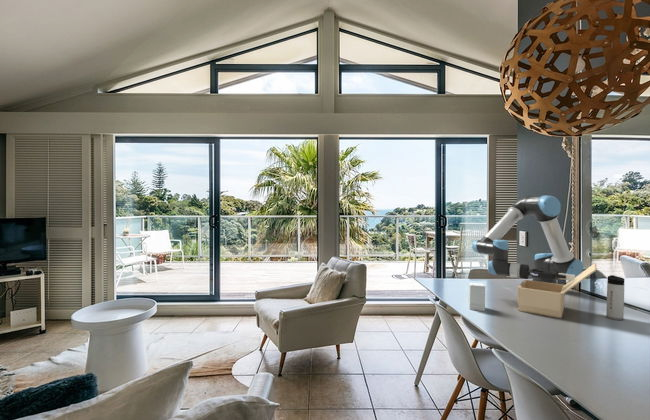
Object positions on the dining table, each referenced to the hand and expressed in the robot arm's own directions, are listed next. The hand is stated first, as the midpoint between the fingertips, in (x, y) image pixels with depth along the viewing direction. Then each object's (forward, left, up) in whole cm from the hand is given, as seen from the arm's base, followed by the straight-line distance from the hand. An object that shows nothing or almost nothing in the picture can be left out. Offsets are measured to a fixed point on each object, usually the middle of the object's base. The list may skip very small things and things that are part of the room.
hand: (574, 277), depth 167 cm
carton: (+6, -12, -18) cm, 23 cm away
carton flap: (-2, +1, 0) cm, 2 cm away
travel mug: (-14, +10, -19) cm, 25 cm away
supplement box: (+37, -25, -19) cm, 48 cm away
